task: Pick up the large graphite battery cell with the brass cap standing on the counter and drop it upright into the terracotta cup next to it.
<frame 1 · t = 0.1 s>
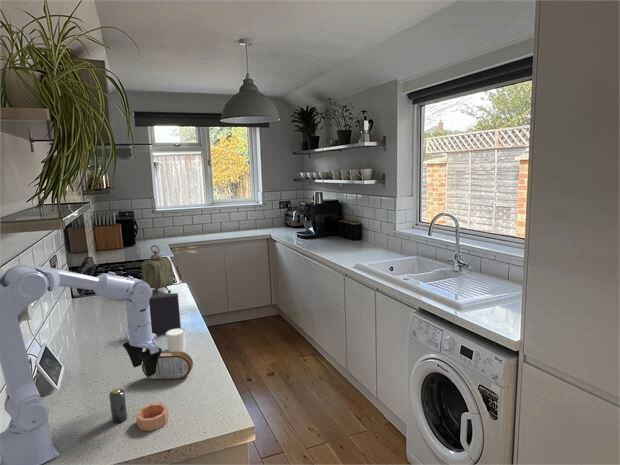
hand: (144, 370, 111), 10 cm above the worktop, tool pointing down, fingers open, 7 cm apart
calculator: (166, 332, 161), on the worktop
cell: (119, 419, 106), on the worktop
tabletop clock: (158, 293, 209), on the worktop
cup: (153, 422, 105), on the worktop
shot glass: (177, 350, 145), on the worktop
tin: (168, 378, 126), on the worktop
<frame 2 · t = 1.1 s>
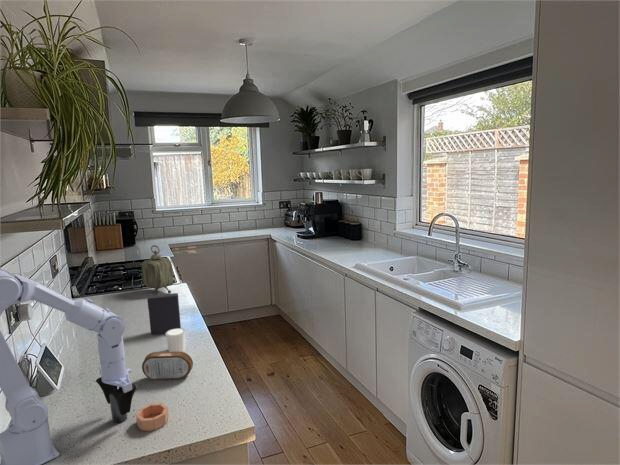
hand: (118, 407, 106), 3 cm above the worktop, tool pointing down, fingers open, 7 cm apart
nothing on the worktop moved.
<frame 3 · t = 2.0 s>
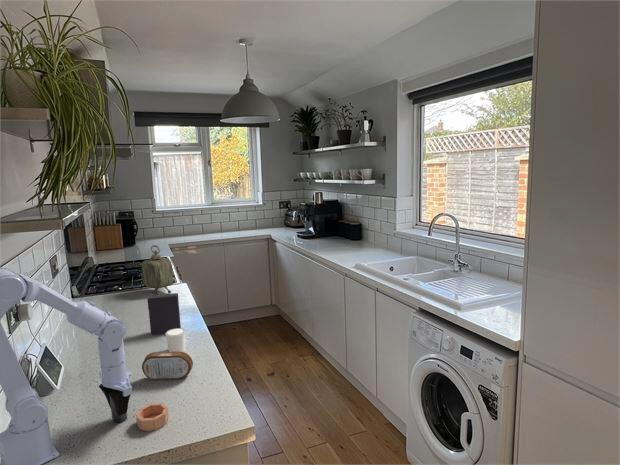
hand: (118, 410, 106), 2 cm above the worktop, tool pointing down, fingers closed on cell, 3 cm apart
cell: (119, 419, 106), on the worktop, touching gripper
everything else where it was.
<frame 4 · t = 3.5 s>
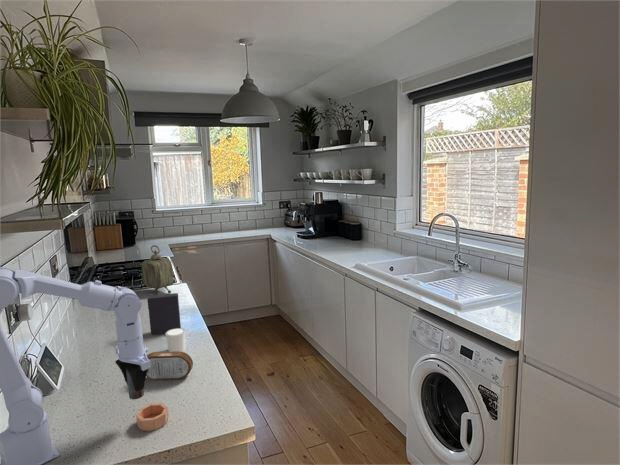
hand: (135, 386, 104), 10 cm above the worktop, tool pointing down, fingers closed on cell, 3 cm apart
cell: (136, 395, 104), point 7 cm above the worktop, touching gripper
everything else where it was.
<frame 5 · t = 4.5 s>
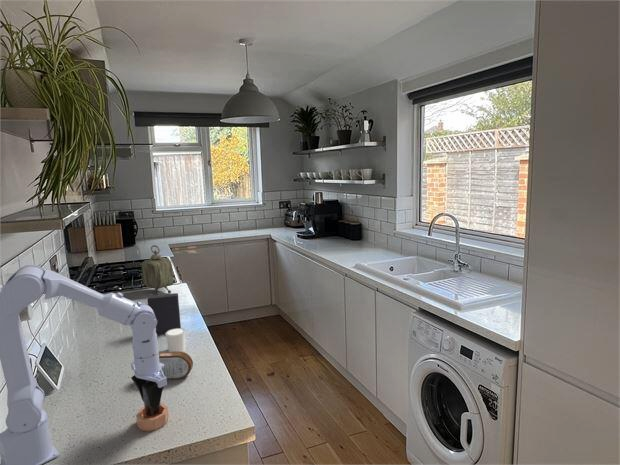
hand: (151, 403, 104), 5 cm above the worktop, tool pointing down, fingers closed on cell, 3 cm apart
cell: (152, 411, 104), point 3 cm above the worktop, touching gripper
everything else where it was.
when the fingers open (4 cm above the worktop, at t = 5.2 s): cell stays where it is, resting on cup.
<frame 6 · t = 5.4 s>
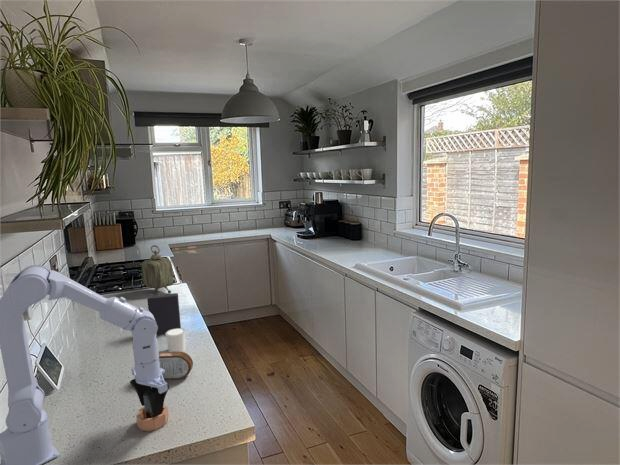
hand: (151, 408, 104), 4 cm above the worktop, tool pointing down, fingers open, 5 cm apart
cell: (153, 420, 105), point 1 cm above the worktop, touching cup
everything else where it was.
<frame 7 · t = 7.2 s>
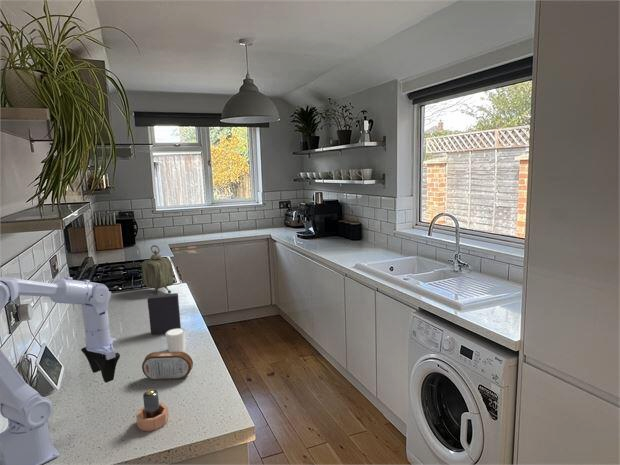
hand: (103, 376, 108), 10 cm above the worktop, tool pointing down, fingers open, 7 cm apart
nothing on the worktop moved.
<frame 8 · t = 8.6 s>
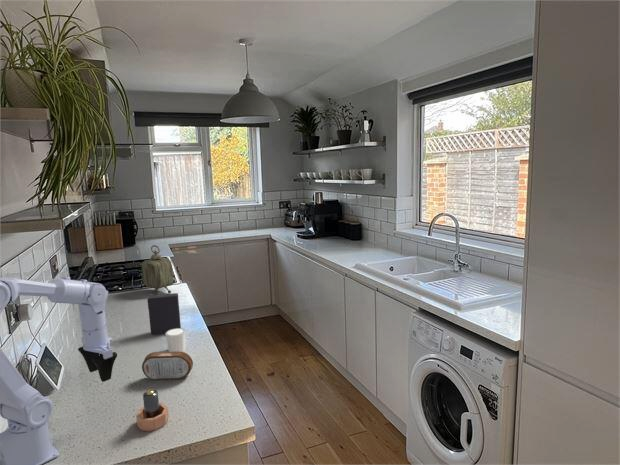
hand: (100, 375, 108), 10 cm above the worktop, tool pointing down, fingers open, 7 cm apart
nothing on the worktop moved.
at the end: cell 0.0 cm off-centre on the cup, point 0.5 cm above the cup's base; cell tilted 0°; the gripper is holding nothing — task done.
